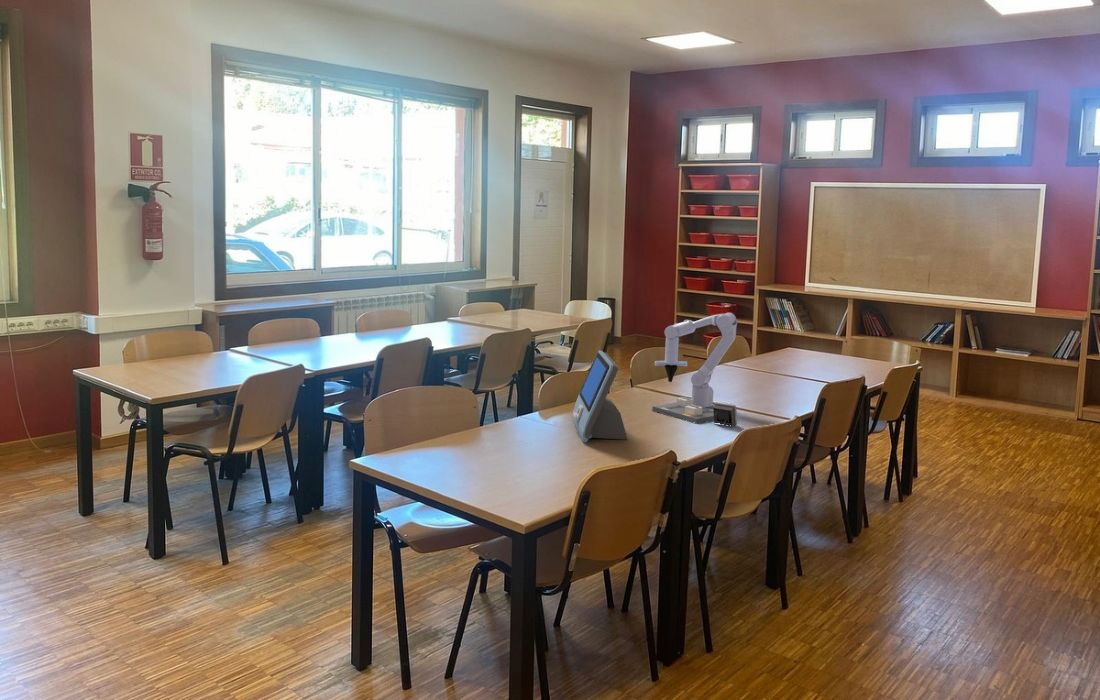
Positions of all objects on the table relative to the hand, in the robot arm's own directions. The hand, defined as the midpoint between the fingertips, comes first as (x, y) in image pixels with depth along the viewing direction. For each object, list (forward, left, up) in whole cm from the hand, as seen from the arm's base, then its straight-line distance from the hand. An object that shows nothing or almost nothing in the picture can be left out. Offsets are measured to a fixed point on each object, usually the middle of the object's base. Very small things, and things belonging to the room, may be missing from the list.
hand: (670, 381), depth 390 cm
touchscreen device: (+62, +24, -10) cm, 67 cm away
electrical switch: (+11, +43, -10) cm, 45 cm away
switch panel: (+10, +22, -9) cm, 26 cm away
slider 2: (+14, +29, -7) cm, 33 cm away
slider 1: (+6, +16, -7) cm, 18 cm away
